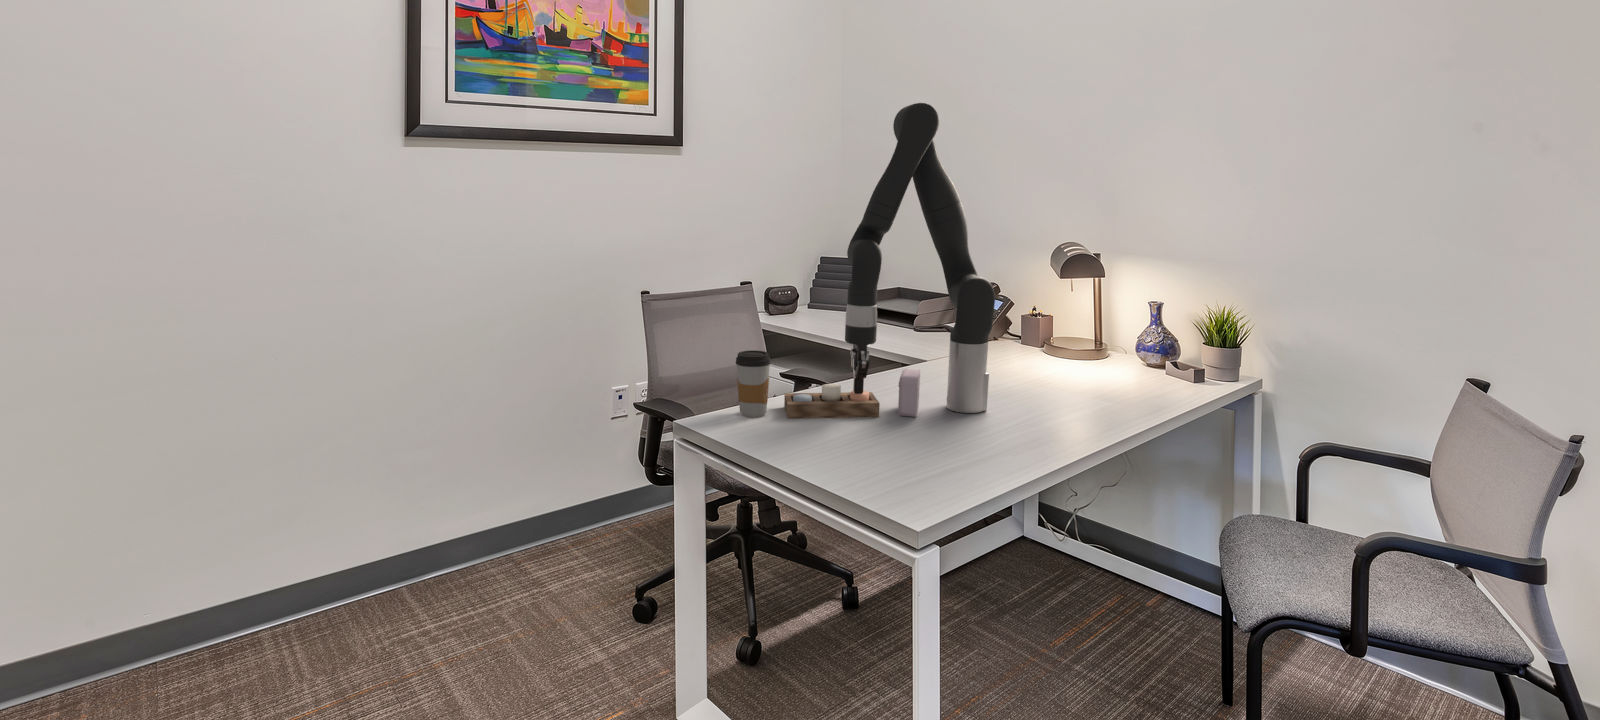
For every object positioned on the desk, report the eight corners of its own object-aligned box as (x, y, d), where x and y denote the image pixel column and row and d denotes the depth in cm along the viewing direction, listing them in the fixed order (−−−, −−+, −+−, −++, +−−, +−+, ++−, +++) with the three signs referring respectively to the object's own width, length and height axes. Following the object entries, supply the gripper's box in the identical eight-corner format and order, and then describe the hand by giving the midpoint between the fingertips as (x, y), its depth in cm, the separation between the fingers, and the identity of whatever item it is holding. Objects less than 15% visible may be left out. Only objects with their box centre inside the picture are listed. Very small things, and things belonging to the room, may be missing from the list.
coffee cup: (765, 420, 185) (765, 358, 181) (731, 418, 186) (731, 356, 183) (774, 410, 193) (774, 351, 189) (741, 408, 194) (740, 349, 191)
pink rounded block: (866, 402, 195) (867, 390, 194) (870, 407, 191) (870, 395, 190) (848, 403, 195) (848, 390, 194) (851, 408, 190) (851, 395, 189)
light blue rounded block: (810, 406, 194) (810, 393, 193) (812, 411, 189) (812, 398, 189) (792, 406, 193) (792, 394, 193) (793, 412, 189) (793, 399, 188)
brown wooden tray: (871, 405, 198) (871, 392, 197) (879, 417, 188) (879, 402, 188) (784, 406, 196) (784, 393, 195) (787, 418, 186) (787, 404, 186)
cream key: (839, 396, 194) (839, 383, 193) (841, 401, 190) (842, 388, 189) (820, 396, 194) (820, 383, 193) (822, 401, 189) (823, 388, 188)
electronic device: (900, 405, 198) (901, 367, 196) (918, 407, 197) (920, 368, 195) (896, 417, 189) (898, 376, 187) (916, 418, 188) (918, 377, 186)
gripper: (882, 328, 182) (878, 400, 186) (871, 318, 195) (868, 386, 199) (850, 327, 181) (847, 400, 185) (841, 318, 194) (839, 386, 198)
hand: (858, 392), depth 192 cm, fingers closed
